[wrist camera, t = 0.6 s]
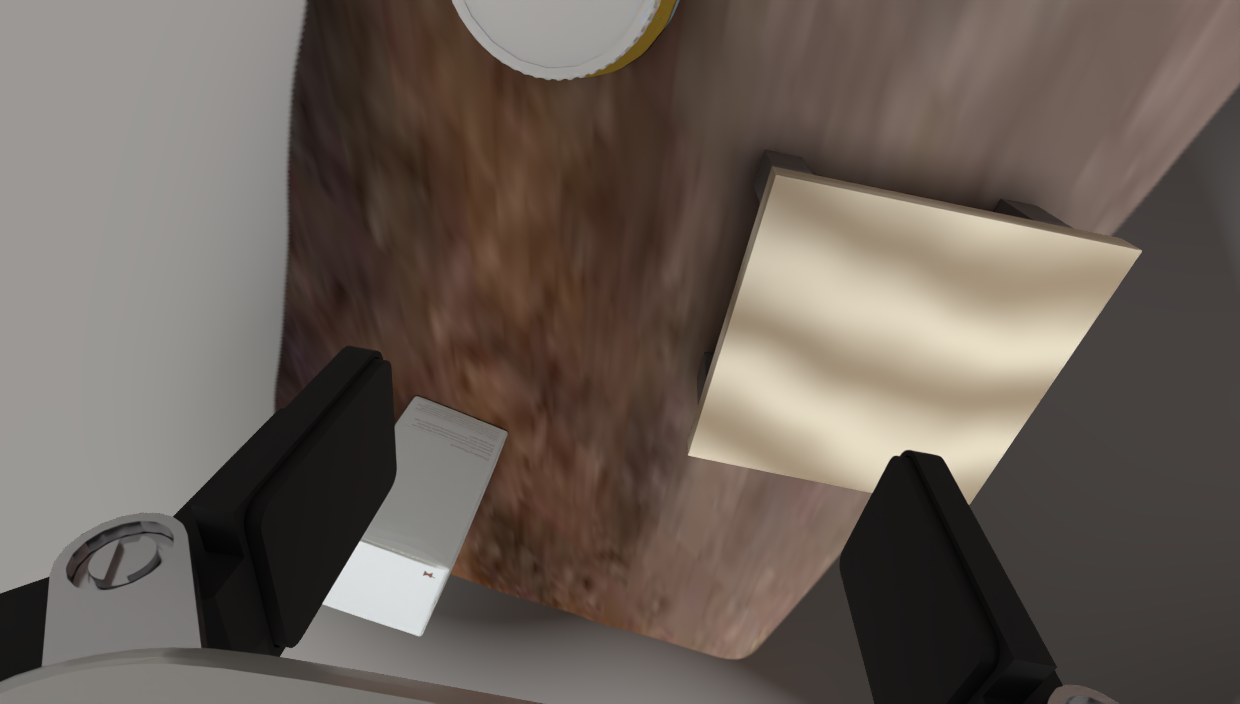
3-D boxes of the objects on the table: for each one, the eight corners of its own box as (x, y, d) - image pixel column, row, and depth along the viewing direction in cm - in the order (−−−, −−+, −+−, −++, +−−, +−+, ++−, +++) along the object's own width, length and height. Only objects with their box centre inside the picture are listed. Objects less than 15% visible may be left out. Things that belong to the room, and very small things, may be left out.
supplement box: (414, 391, 43) (322, 525, 32) (511, 430, 44) (453, 572, 33) (392, 460, 47) (303, 601, 36) (482, 495, 48) (421, 642, 37)
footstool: (758, 138, 32) (776, 174, 25) (1051, 199, 32) (1142, 250, 26) (688, 381, 40) (688, 455, 34) (920, 429, 40) (964, 511, 34)
